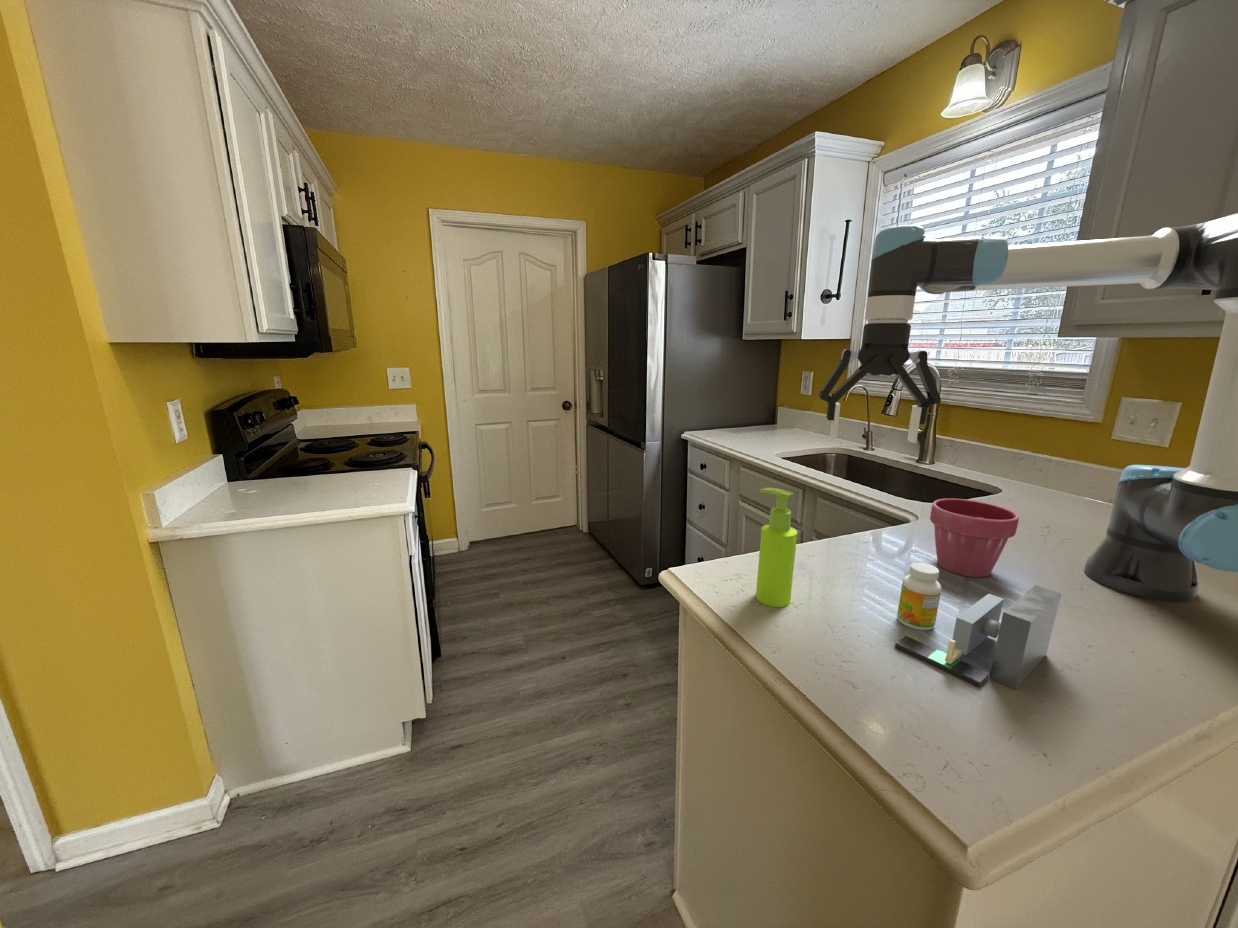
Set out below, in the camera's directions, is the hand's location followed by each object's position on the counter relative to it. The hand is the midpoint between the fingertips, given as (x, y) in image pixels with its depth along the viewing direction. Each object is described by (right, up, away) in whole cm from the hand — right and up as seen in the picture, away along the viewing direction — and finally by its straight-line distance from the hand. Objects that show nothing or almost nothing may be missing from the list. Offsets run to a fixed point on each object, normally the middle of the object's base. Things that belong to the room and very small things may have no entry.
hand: (871, 439), depth 94 cm
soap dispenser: (-21, -29, -5) cm, 36 cm away
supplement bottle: (+1, -31, -12) cm, 33 cm away
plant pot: (+23, -26, +8) cm, 35 cm away
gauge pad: (+5, -31, -20) cm, 38 cm away
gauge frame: (+5, -32, -20) cm, 38 cm away
